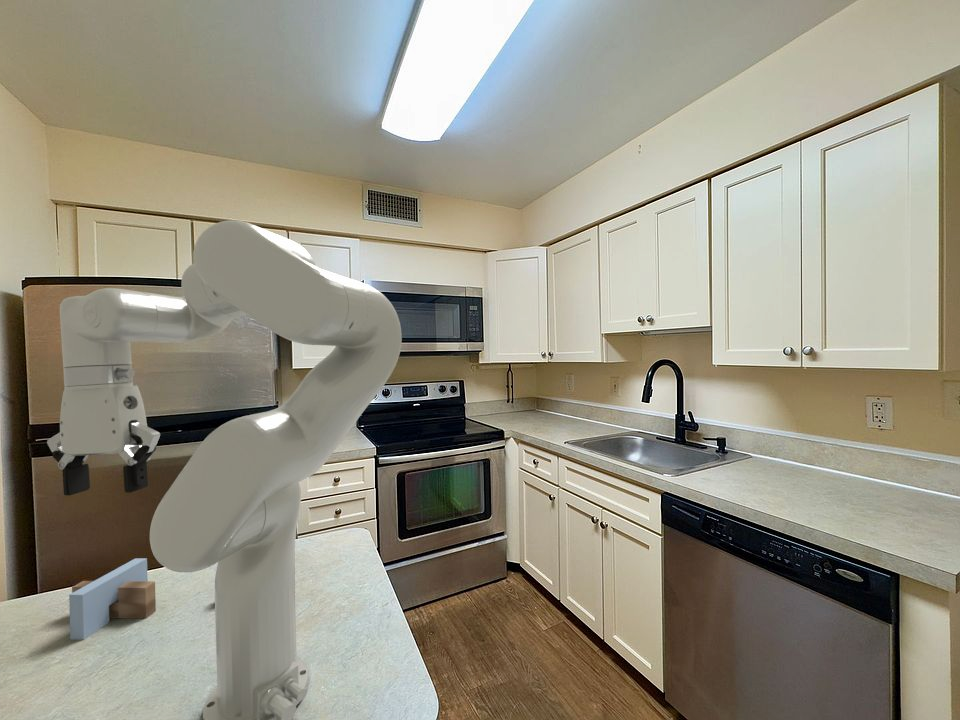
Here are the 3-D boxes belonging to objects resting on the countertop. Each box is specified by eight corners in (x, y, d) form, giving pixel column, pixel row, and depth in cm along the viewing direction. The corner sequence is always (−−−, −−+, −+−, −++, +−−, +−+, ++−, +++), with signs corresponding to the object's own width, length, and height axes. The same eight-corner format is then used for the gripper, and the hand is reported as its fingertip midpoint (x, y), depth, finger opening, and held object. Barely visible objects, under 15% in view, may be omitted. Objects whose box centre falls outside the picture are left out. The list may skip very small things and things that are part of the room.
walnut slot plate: (155, 611, 74) (155, 581, 73) (146, 618, 72) (145, 587, 71) (84, 610, 74) (83, 580, 74) (72, 617, 72) (71, 587, 72)
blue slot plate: (136, 596, 78) (135, 558, 78) (147, 596, 78) (147, 558, 78) (70, 639, 66) (69, 594, 66) (83, 639, 66) (82, 594, 66)
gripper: (173, 374, 63) (180, 481, 63) (74, 381, 65) (81, 486, 65) (129, 376, 56) (136, 497, 56) (17, 384, 57) (25, 502, 57)
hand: (106, 491), depth 60 cm, fingers open, 9 cm apart
